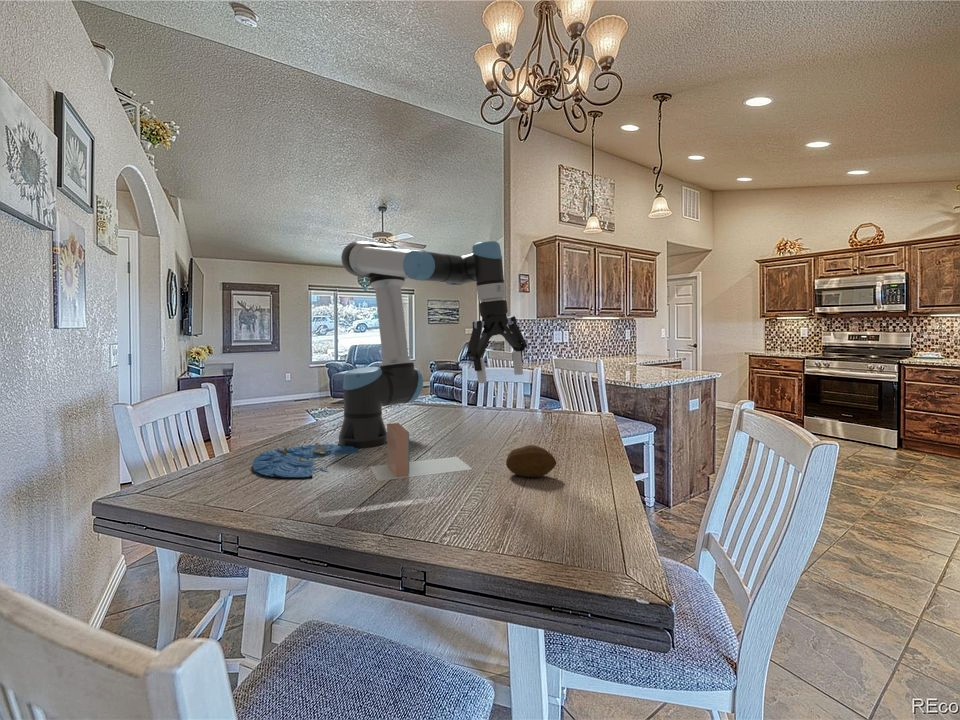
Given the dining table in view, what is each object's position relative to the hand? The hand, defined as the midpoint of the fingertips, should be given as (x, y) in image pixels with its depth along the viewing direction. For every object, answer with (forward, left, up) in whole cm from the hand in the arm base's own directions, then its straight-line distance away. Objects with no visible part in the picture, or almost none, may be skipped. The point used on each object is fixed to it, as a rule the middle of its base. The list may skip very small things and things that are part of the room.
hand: (501, 378), depth 129 cm
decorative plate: (-18, -48, -23) cm, 56 cm away
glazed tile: (+1, -29, -22) cm, 36 cm away
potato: (+14, +2, -23) cm, 27 cm away
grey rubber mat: (+1, -23, -23) cm, 32 cm away
